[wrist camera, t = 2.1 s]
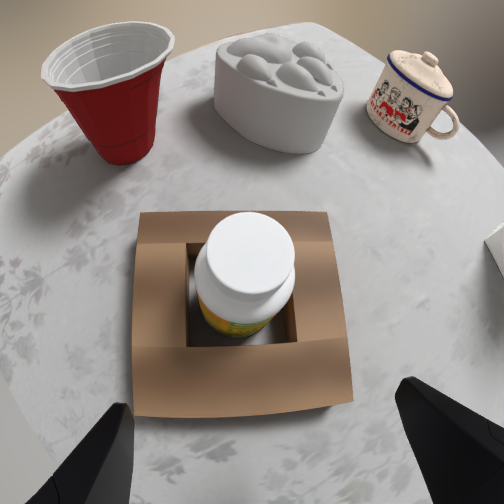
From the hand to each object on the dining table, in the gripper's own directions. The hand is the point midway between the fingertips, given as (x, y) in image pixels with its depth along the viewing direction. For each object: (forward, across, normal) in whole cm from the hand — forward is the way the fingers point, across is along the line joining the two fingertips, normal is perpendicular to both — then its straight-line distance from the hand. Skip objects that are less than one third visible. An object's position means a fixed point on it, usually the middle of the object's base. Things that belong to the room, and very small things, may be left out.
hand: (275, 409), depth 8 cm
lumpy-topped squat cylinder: (+28, -5, -10) cm, 30 cm away
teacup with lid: (+29, -23, -11) cm, 38 cm away
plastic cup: (+25, +10, -7) cm, 28 cm away
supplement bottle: (+14, 0, +4) cm, 14 cm away
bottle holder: (+13, 0, +4) cm, 14 cm away
